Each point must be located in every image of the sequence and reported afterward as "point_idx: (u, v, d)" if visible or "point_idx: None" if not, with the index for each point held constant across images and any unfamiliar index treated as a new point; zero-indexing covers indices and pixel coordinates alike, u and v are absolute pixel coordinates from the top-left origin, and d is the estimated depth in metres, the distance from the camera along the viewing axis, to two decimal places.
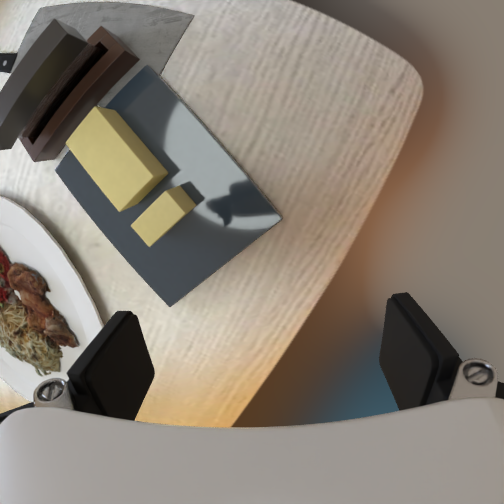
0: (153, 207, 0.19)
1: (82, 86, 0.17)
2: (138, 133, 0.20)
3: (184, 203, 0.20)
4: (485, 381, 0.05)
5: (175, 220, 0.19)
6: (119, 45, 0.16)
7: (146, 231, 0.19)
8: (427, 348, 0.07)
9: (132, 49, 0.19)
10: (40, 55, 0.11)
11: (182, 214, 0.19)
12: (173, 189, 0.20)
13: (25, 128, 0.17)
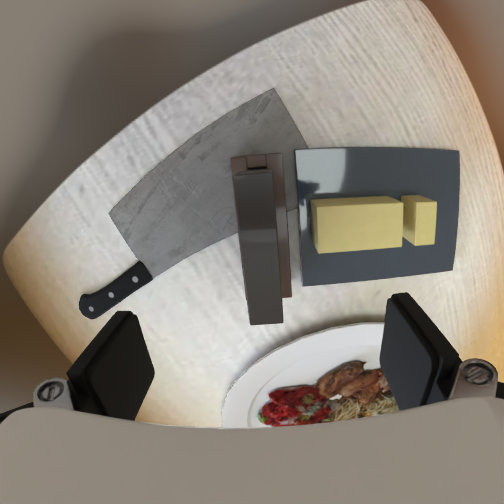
0: (419, 219, 0.21)
1: (278, 208, 0.23)
2: (345, 195, 0.24)
3: (423, 198, 0.22)
4: (485, 381, 0.05)
5: (435, 211, 0.21)
6: (271, 154, 0.21)
7: (426, 237, 0.22)
8: (427, 348, 0.07)
9: (263, 152, 0.24)
10: (264, 209, 0.17)
11: (436, 204, 0.21)
12: (411, 199, 0.22)
13: None
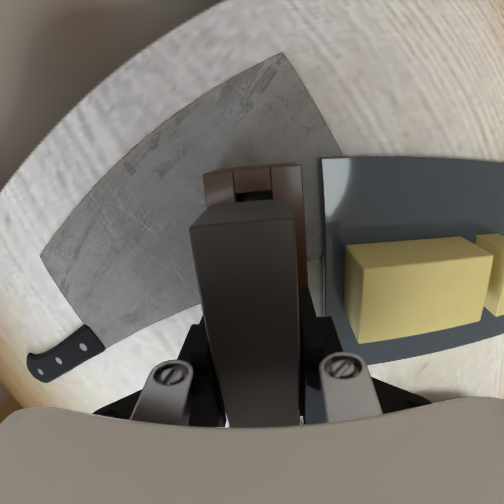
0: None
1: None
2: (400, 237, 0.14)
3: None
4: (348, 375, 0.07)
5: None
6: (281, 167, 0.11)
7: None
8: None
9: (265, 161, 0.14)
10: (270, 312, 0.07)
11: None
12: (496, 244, 0.12)
13: None
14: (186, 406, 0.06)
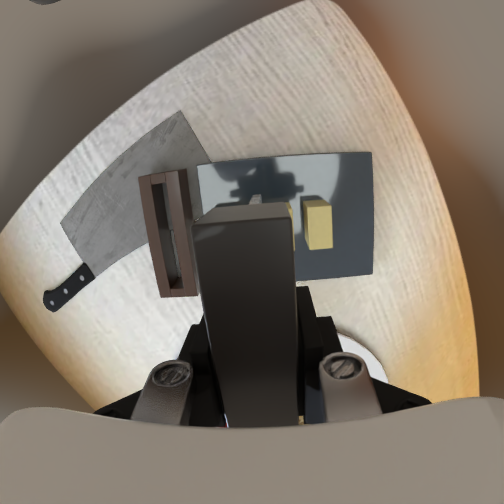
0: (311, 224, 0.24)
1: (177, 218, 0.26)
2: (244, 203, 0.27)
3: (321, 203, 0.25)
4: (348, 375, 0.07)
5: (330, 215, 0.24)
6: (169, 172, 0.24)
7: (321, 241, 0.25)
8: None
9: (172, 168, 0.27)
10: (269, 310, 0.07)
11: (330, 208, 0.24)
12: (307, 204, 0.25)
13: None
14: (186, 406, 0.06)
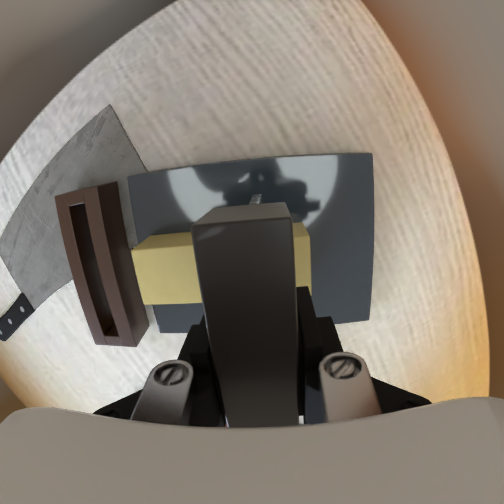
0: None
1: (101, 250, 0.18)
2: (190, 228, 0.19)
3: (296, 230, 0.17)
4: (348, 375, 0.07)
5: (308, 250, 0.16)
6: (88, 189, 0.17)
7: None
8: None
9: (100, 181, 0.19)
10: (269, 310, 0.07)
11: (308, 239, 0.16)
12: None
13: None
14: (186, 406, 0.06)
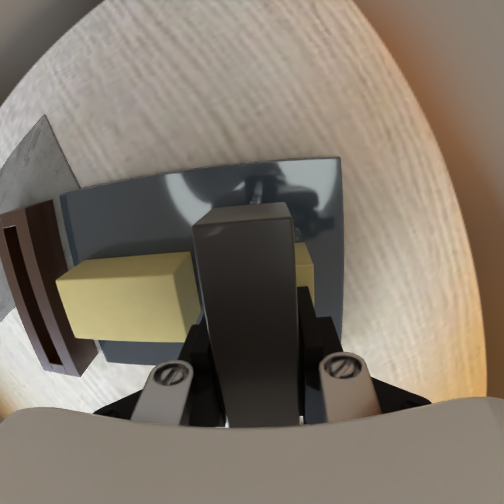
0: None
1: (34, 277, 0.15)
2: (123, 253, 0.16)
3: (296, 255, 0.14)
4: (348, 375, 0.07)
5: (311, 283, 0.13)
6: (17, 211, 0.13)
7: None
8: None
9: (37, 198, 0.16)
10: (269, 310, 0.07)
11: (311, 269, 0.12)
12: None
13: None
14: (186, 406, 0.06)
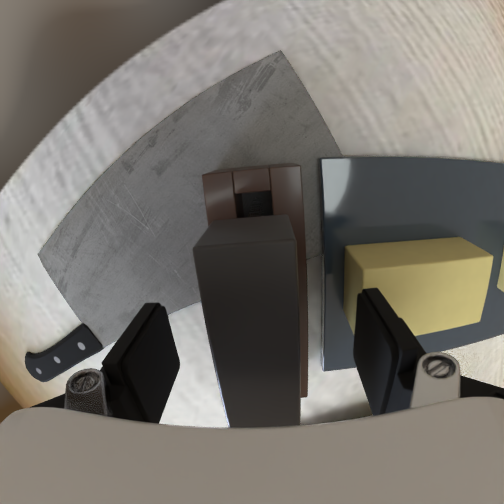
0: None
1: None
2: (399, 237, 0.14)
3: None
4: (446, 375, 0.06)
5: None
6: (280, 168, 0.11)
7: None
8: (388, 340, 0.07)
9: (263, 159, 0.14)
10: (272, 329, 0.07)
11: None
12: None
13: None
14: (88, 413, 0.06)
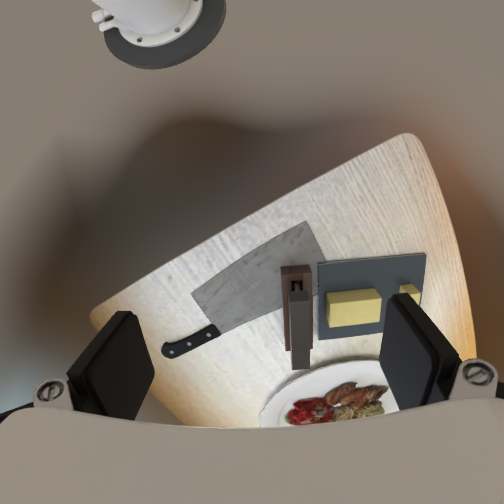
0: None
1: None
2: (347, 289, 0.40)
3: (413, 289, 0.37)
4: (485, 381, 0.05)
5: (419, 298, 0.36)
6: (305, 273, 0.37)
7: None
8: (427, 348, 0.07)
9: (297, 262, 0.39)
10: (304, 318, 0.32)
11: (420, 294, 0.36)
12: (405, 290, 0.37)
13: None
14: None
